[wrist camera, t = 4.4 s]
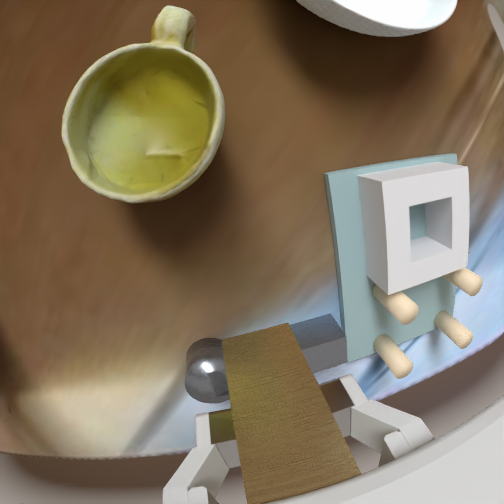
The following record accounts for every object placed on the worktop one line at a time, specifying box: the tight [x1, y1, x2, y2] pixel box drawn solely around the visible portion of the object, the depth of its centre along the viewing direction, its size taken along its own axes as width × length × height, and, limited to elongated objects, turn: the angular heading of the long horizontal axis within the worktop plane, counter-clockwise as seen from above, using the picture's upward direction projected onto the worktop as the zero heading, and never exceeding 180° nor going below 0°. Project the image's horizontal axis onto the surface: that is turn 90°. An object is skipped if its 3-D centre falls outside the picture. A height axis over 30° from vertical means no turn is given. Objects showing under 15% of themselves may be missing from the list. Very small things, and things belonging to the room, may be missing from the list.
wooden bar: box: [222, 323, 361, 504], centre depth 10 cm, size 3×3×8 cm
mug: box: [62, 6, 225, 204], centre depth 18 cm, size 12×10×10 cm
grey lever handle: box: [185, 314, 348, 403], centre depth 27 cm, size 14×5×4 cm, turn 102°
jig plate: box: [324, 153, 482, 379], centre depth 26 cm, size 14×19×6 cm
